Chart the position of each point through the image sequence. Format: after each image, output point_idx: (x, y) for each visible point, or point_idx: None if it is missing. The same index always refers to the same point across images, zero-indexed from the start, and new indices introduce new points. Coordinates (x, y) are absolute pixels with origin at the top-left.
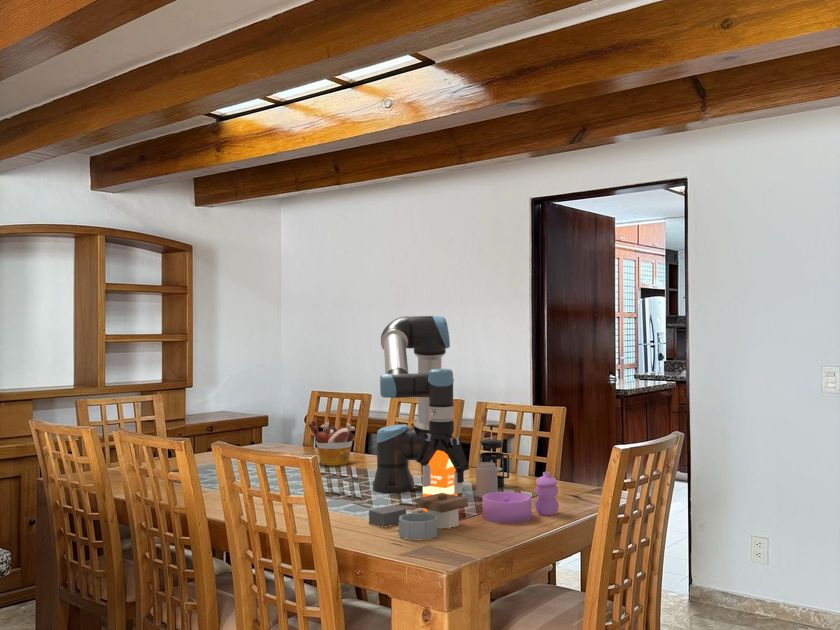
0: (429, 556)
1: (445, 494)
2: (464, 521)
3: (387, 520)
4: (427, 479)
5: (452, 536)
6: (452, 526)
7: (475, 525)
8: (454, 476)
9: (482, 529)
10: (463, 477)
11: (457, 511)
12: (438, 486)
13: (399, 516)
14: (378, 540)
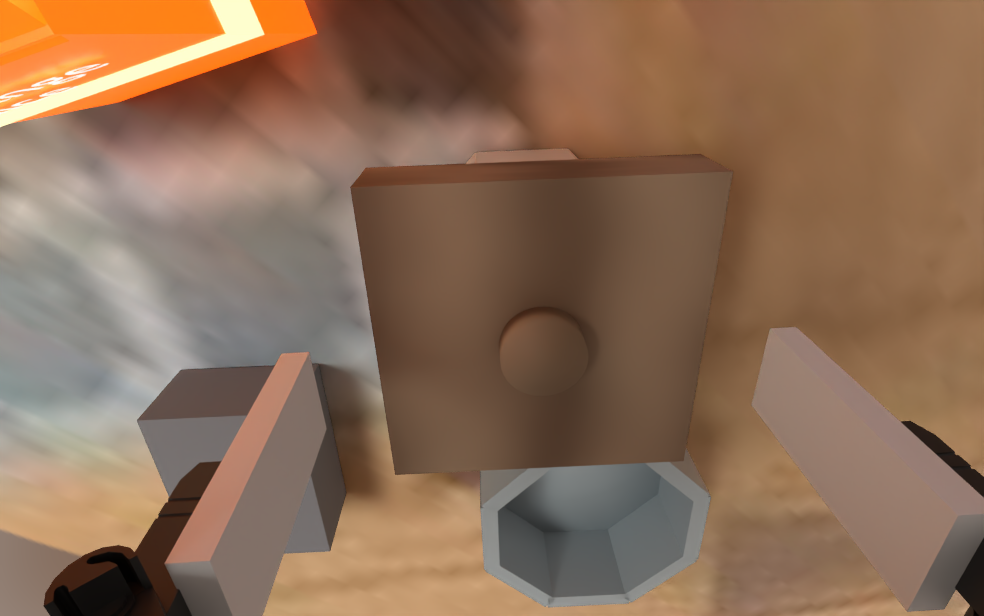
0: (820, 585)
1: (554, 329)
2: (571, 80)
3: (334, 499)
4: (298, 443)
5: (733, 373)
6: None
7: (706, 105)
8: (870, 554)
9: (805, 149)
10: (971, 469)
11: None
12: (119, 69)
13: (497, 578)
14: (510, 595)
